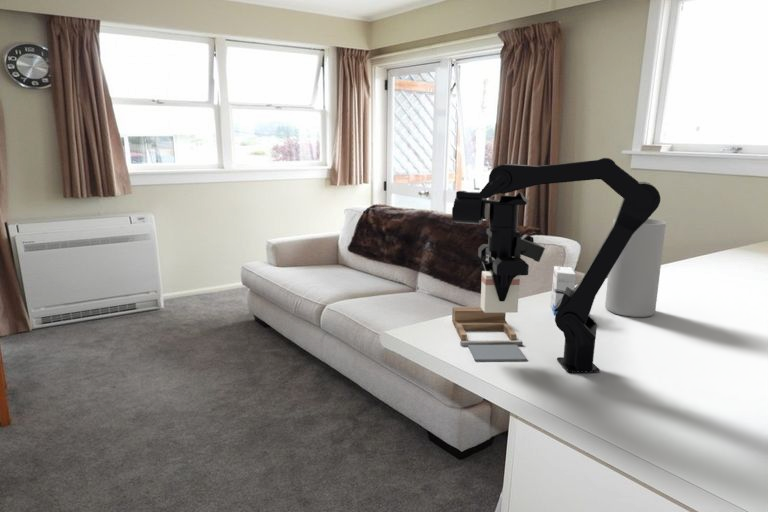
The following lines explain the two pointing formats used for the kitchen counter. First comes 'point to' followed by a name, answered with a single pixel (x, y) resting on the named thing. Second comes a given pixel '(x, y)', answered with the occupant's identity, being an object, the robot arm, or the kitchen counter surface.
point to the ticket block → (491, 299)
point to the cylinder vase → (637, 272)
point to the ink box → (561, 283)
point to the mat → (496, 353)
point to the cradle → (481, 325)
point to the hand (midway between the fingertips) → (499, 298)
